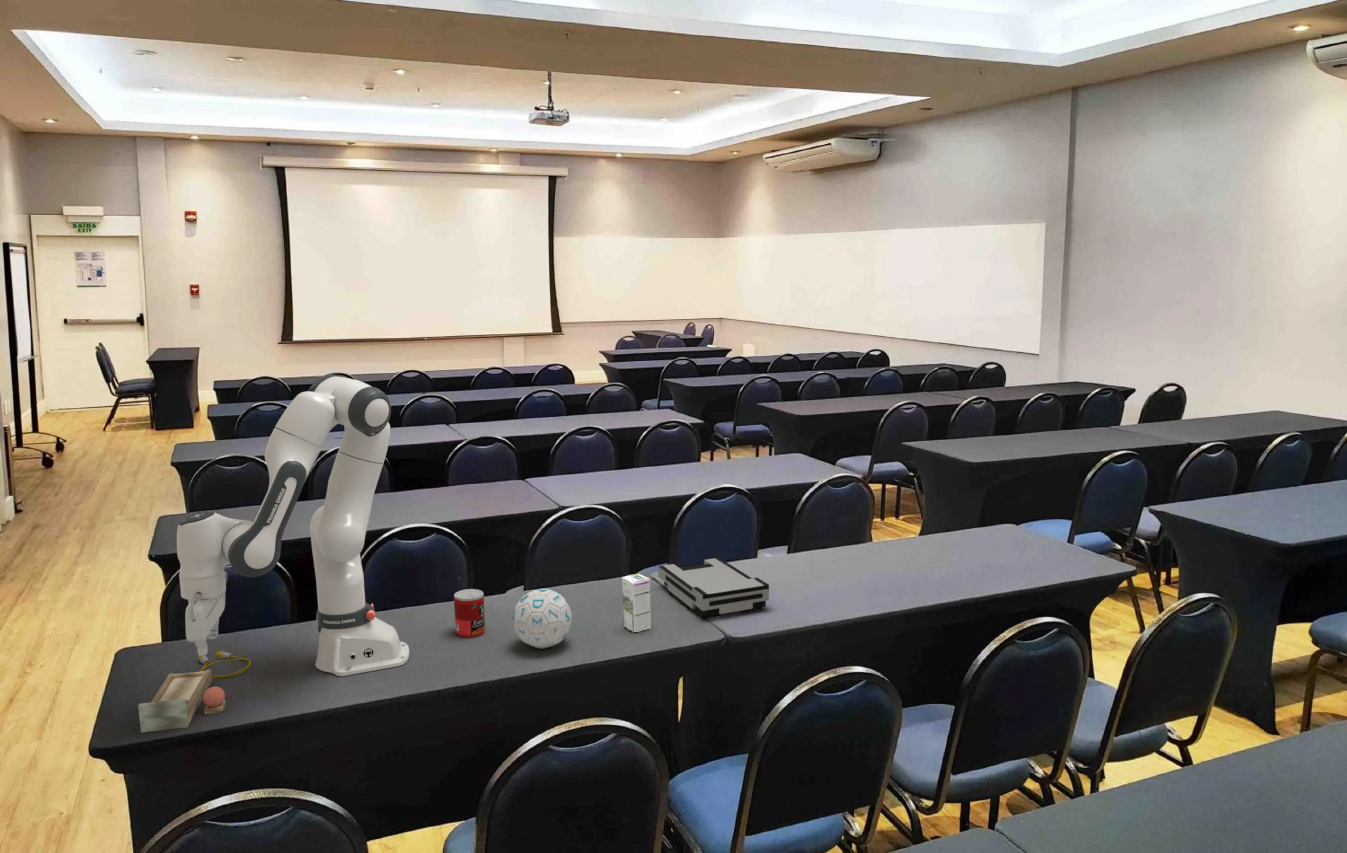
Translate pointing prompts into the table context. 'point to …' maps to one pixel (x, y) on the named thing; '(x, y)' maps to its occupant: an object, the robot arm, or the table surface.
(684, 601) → the game console
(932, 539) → the table surface
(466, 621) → the canned food
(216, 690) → the ball
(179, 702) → the tray
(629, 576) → the syrup box
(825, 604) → the table surface
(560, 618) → the puzzle ball
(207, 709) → the hollow square frame
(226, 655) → the extension cord
